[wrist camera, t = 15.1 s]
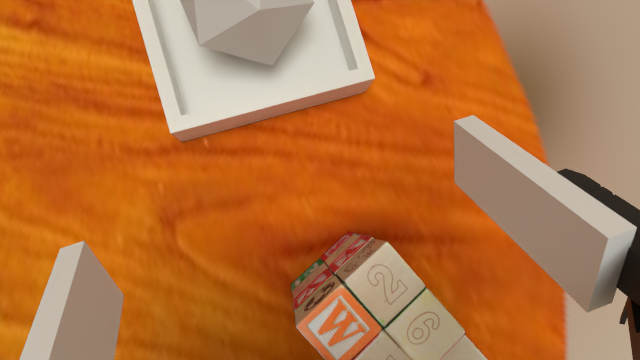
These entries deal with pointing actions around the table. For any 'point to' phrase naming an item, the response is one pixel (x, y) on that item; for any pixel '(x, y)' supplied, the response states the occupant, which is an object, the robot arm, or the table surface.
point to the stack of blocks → (374, 307)
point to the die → (246, 25)
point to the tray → (251, 69)
